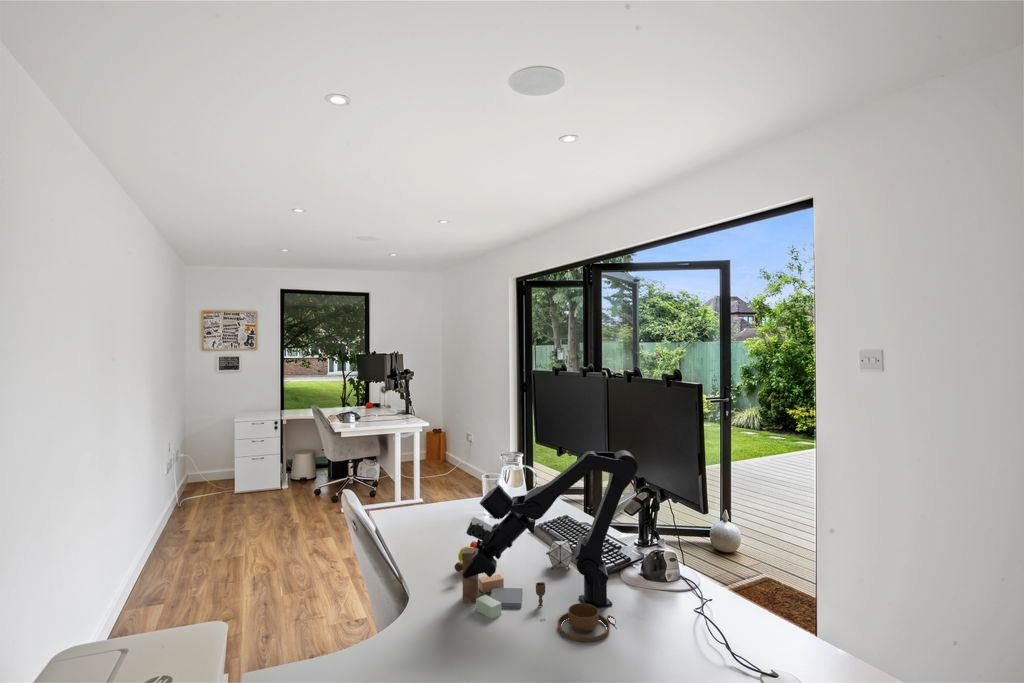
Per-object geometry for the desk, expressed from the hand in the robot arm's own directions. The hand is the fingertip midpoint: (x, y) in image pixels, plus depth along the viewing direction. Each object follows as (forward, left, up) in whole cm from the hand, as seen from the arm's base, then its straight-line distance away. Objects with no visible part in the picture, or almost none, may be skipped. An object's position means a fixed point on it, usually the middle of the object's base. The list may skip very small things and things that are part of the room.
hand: (465, 573), depth 143 cm
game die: (+9, -31, -7) cm, 33 cm away
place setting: (-19, -23, -7) cm, 30 cm away
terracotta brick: (+3, -8, -7) cm, 11 cm away
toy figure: (+16, -5, -7) cm, 18 cm away
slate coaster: (-4, -10, -7) cm, 13 cm away
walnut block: (-1, -1, -7) cm, 7 cm away
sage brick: (-9, -4, -7) cm, 12 cm away
